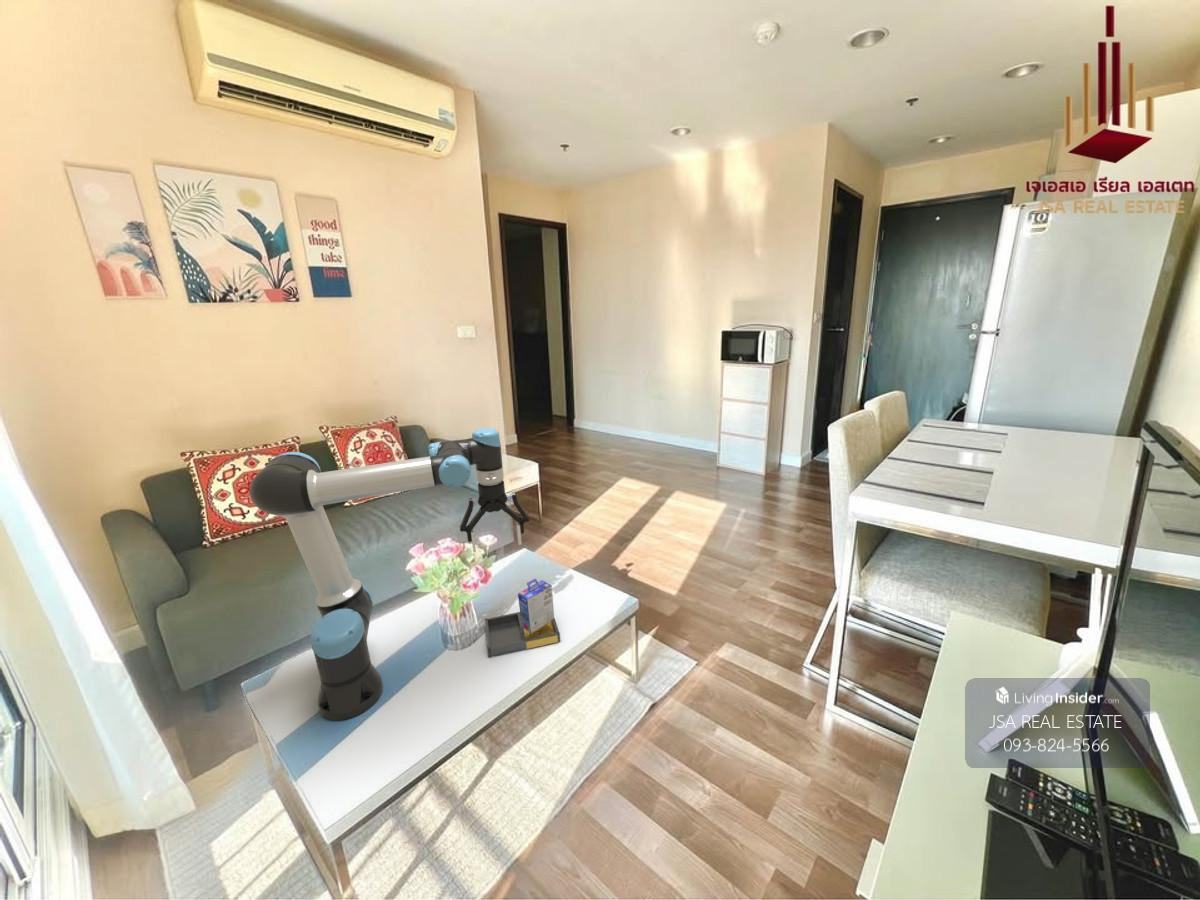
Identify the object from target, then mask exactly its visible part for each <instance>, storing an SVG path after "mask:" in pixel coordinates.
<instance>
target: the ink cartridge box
mask: <svg viewBox="0 0 1200 900" xmlns="http://www.w3.org/2000/svg"><path fill="white" fill-rule="evenodd" d="M533 583H534V584H533ZM526 585H527V587H526V588H525V589H523V590H521V591H520V592H518V593H517V598H518V606H519V612H520V616H521V625H522V627H523V628H524V629H525V630H527V631H528V632H529V633H533V632H534V631H536V630H537V629H539V628H540V627H542V626H544V625H545V624H547V623H548V622H550V621H551V620H553V619H554V618H555V609H554V599H553V596H554V595H553V586H552V584H550V583H548V582H546V581H545V580H543V579H541V580H539V581H538V580H537V578H534V579H532V580H530V581H528V582H527V583H526Z"/></svg>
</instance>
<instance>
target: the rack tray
mask: <svg viewBox="0 0 1200 900" xmlns="http://www.w3.org/2000/svg"><path fill="white" fill-rule="evenodd" d="M484 622H485V633H486V642H487V652H488V658H494V657H499V656H503V655H507V654H511V653H515V652H520V651H524V650H529V649H535V648H538V647H541V646H547V645H551V644H552V645H553V644H555V643H560V642H561V633H560V630H559V627H558V624H557V622H556V618H555V617H554V619H553V620H551V621H550V622H548V623H547V624H545V625H544V626H542V627H540V628H539V629H537V630H536V631H534V632H533V633H529V632H528V631H527V630H525V629H524V628H523V627H522V625H521V616H520V611H518V612H512V613H508V614H502V615H499V616H497V615H496V616H494V617H492V616H491V617H488V618H484Z"/></svg>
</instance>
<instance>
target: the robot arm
mask: <svg viewBox="0 0 1200 900" xmlns="http://www.w3.org/2000/svg"><path fill="white" fill-rule="evenodd" d="M471 435H472V436H471V437H469V438H463V439H454V440H445V441H444V440H440V441H437V442H432V443H430V444H429V445H428V453H429V456H422V457H417V458H410V459H403V460H396V461H391V462H390V461H389V462H383V463H377V464H370V465H363V466H357V467H350V468H344V469H336V470H331V471H330V470H329V471H323V472H322V471H321V467H320V465H319V463H318V461H316V459H314V458H313V456H310V455H308V454H305V453H303V452H299V451H289V452H288V451H287V452H283V453H281V454H279V455H277V456H275V457H274V458H272V459H270V460H269V461H268V462H267V463H266V465H265V467H263V469H261V470H260V471H258V473H257V474H256V475H255V476H253V479H252V481H251V483H250V487H249V496H250V499H251V501H252V503H253V504H254V505H255V507H256V508H258V509H259V510H261V511H262V512H264V513H267V514H269V515H273V516H277V517H281V518H284V519H285V520H286V522H287V524H288V527H289V530H290V532H291V534H292V536H293V539H294V540H295V543H296V545H297V548H298V550H299V552H300V554H301V556H302V559H303V562H305V565H306V567H307V570H308V572H309V575H310V577H311V580H312V581H313V584H314V585H315V587H316V590H317V592H318V595H317V596H316V599H315V605H316V607H317V609H318V611H319V613H320V615H321V618H319V619H318V620H317V621H316V622H315V623H314V625H313V627H312V628H311V631H310V645H311V649H312V651H313V655H314V658H315V663H316V666H317V669H318V674H319V678H320V689H319V693H318V694H319V695H318V701H317V705H318V710H319V714H320V715H321V716H322V717H323V718H325V719H327V720H330V721H343V720H344V721H345V720H348V719H351V718H354V717H356V716H358V715H360V714H361V715H362V713H365V712H366V711H367V710H369V709H370V708H371V707H372V706H374V705H375V704H376V703H377V701H379V698H380V697H381V696H382V693H383V690H384V683H383V679H382V676H381V674H380V673H379V671H378V670H377V669H376V667H375V666H374V665H373V664H372V662H371V656H370V651H369V647H368V646H369V645H368V635H369V634H368V633H369V629H370V627H369V626H370V622H371V615H372V612H373V605H374V603H373V596H372V594H371V593H370V591H369V589H367V588H366V587H365V586H363V585H362V582H361V581H360V580H359V579H357V578H356V579H355V578H353V575H352V574H351V571H350V569H349V566H348V564H347V562H346V559H345V557H344V555H343V552H342V550H341V549H342V548H341V547H340V544H339V542H338V540H337V537H336V535H335V531H334V529H333V527H332V525H331V522H330V520H329V518H328V516H327V513H326V511H325V508H324V506H325V505H331V504H337V503H343V502H348V501H355V500H360V499H367V498H372V497H378V496H382V495H389V494H394V493H401V492H406V491H412V490H418V489H424V488H430V487H435V486H442V485H443V486H446V487H449V488H455V489H456V488H459V487H462V486H464V485H465V484H466V483H467V482H468V481H469V480H470V478H471V466H473V465H475V472H476V481H477V482H478V483H477V488H478V489H477V490H478V491H477V492H478V496H479V497H478V499H473V497H470V498H468V506H467V509H466V510H465V513H464V516H463V518H462V521H461V523H460V525H459V530H460V532H465V533H466V535H467V537H466V538H467V542H468V543H471V544H472V553H476V552H477V548H476V542H475V541H476V540H475V532H474V531H475V530H474V528H475V527H476V525H477V524H478V523H479V521H480V520H481V518H482V517H483V516H484V515H486V513H494V512H500V511H501V510H502V511H503V512H504V513H506V514H507V515H508V516H510V517H511V518H512V520H514V521H515V522H516V532H517V534H516V535H517V542H518V545H519V546H521V545H522V534H524V533H525V527H524V525H525V523H528V522H530V518H529V515H528V514H527V513H526V511H525V509H524V508H523V507H522V505H521V504H520V502H519V501H518V499H517V495H516V493H515V492H511V494H506V488H505V481H504V478H505V477H504V467H503V458H502V457H503V455H502V445H501V439H500V432H499V431H498V430H497V429H495V428H491V427H490V428H489V427H484V428H480V429H479V428H478V429H475V430H473V431H472V434H471ZM507 501H510V502H511V503H513V505H514V507H515V508H516V509H517V511H518V512H519V513H520V515H521V516H522V517H521V516H520V515H519V514H518V513H516V512H515V511H514V510H513V509H512V508H510V506H508V505H507ZM477 505H479V507H480V508H479V509H478V511H477V512H476V513H475V515H474V516H473V517H472V519H471V520H470V521H469V519H470V518H471V515H472V512H473V509H474V508H475V507H476V506H477Z"/></svg>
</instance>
